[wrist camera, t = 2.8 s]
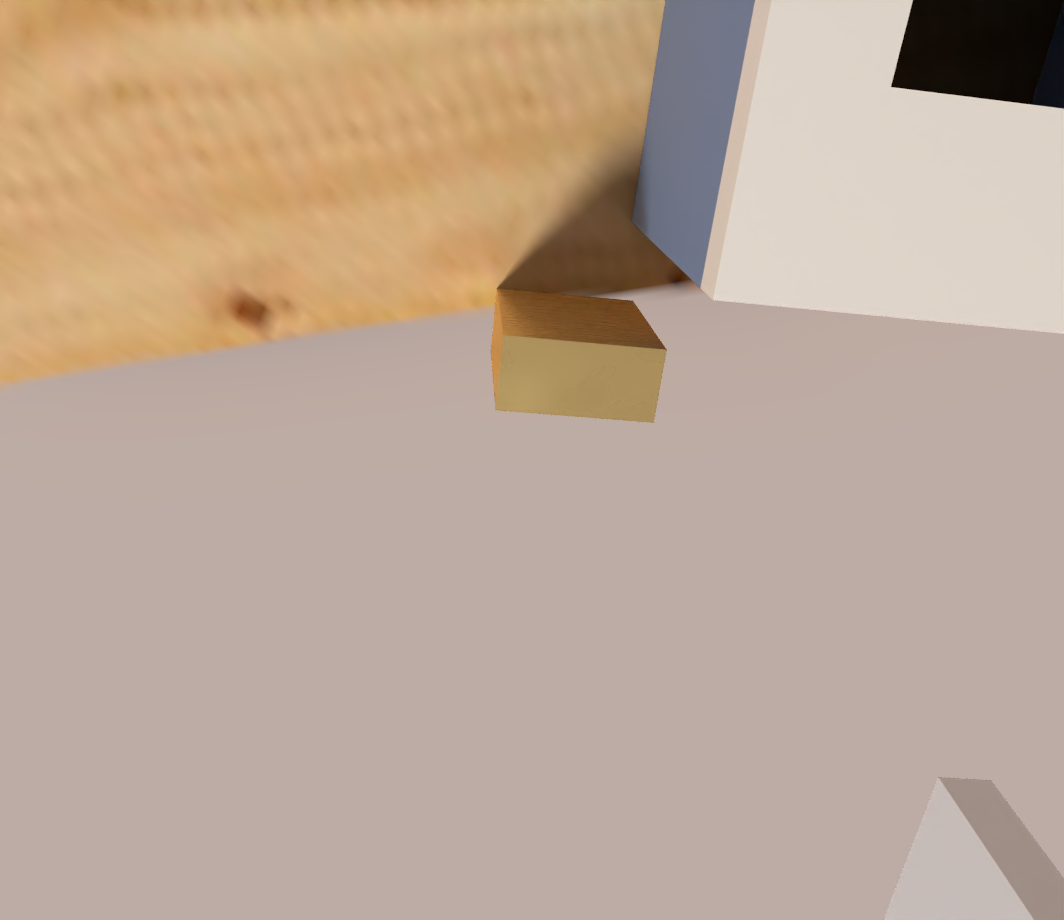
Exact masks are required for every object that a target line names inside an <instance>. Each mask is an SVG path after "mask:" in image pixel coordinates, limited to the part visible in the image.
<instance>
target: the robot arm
mask: <svg viewBox="0 0 1064 920" xmlns="http://www.w3.org/2000/svg"><path fill="white" fill-rule="evenodd" d="M884 920H1064V878H1063V876H1062V875H1061V874H1060V872H1059V871H1058V870H1057V868H1056V867H1055V866H1054V864H1053V863H1052V862H1051V860H1050V859H1049V858H1048V856H1047V855H1046V854H1045V852H1044V851H1043V850H1042V848H1041V847H1040V846H1039V844H1038V843H1037V841H1035V839H1034V838H1033V836H1032V835H1031V834H1030V832H1029V831H1028V829H1027V828H1026V827H1025V825H1024V824H1023V823H1022V821H1021V820H1020V819H1019V817H1018V816H1017V815H1016V813H1015V812H1014V811H1013V809H1012V808H1011V807H1010V805H1009V804H1008V802H1007V801H1006V800H1005V798H1004V797H1003V796H1002V794H1001V793H1000V792H999V790H998V789H997V788H996V787H995V785H994V784H993V782H992V781H991V780H975V779H959V778H942V777H939V778H938V780H937V782H936V785H935V788H934V790H933V793H932V795H931V798H930V801H929V803H928V806H927V808H926V811H925V814H924V816H923V819H922V821H921V824H920V827H919V829H918V832H917V835H916V837H915V840H914V842H913V845H912V847H911V850H910V853H909V855H908V858H907V860H906V863H905V866H904V869H903V871H902V873H901V876H900V879H899V881H898V884H897V886H896V889H895V892H894V894H893V897H892V899H891V902H890V905H889V907H888V910H887V912H886V915H885V918H884Z"/></svg>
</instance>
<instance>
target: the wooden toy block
mask: <svg viewBox="0 0 1064 920" xmlns="http://www.w3.org/2000/svg"><path fill="white" fill-rule="evenodd" d="M666 351H667V350H666V348H665V347H664V345H663V344H662V342H661V341H660V339H659V338H658V337H657V335H656V334H655V333H654V331H653V329H652V328H651V326H650V325H649V324H648V322H647V321H646V319H645V318H644V316H643V315H642V313H641V312H640V311H639V309H638V308H637V306H636V305H635V303H634V302H633V301H629V300H618V299H607V298H596V297H585V296H575V295H564V294H554V293H543V292H533V291H522V290H511V289H501V288H497V292H496V303H495V313H494V324H493V334H492V345H491V360H492V371H493V384H494V396H495V407H496V410H501V411H514V412H526V413H538V414H551V415H564V416H576V417H588V418H601V419H614V420H626V421H639V422H651V423H653V422H654V417H655V412H656V406H657V401H658V395H659V390H660V384H661V378H662V373H663V366H664V362H665V356H666Z"/></svg>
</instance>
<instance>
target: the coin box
mask: <svg viewBox="0 0 1064 920" xmlns="http://www.w3.org/2000/svg"><path fill="white" fill-rule="evenodd" d="M912 2H913V0H666V1H665V8H664V14H663V21H662V27H661V34H660V40H659V47H658V53H657V60H656V66H655V73H654V79H653V86H652V92H651V99H650V105H649V112H648V118H647V125H646V131H645V138H644V145H643V151H642V158H641V164H640V171H639V177H638V184H637V190H636V197H635V203H634V210H633V216H632V223H633V224H634V225H635V226H636V227H637V228H638V229H639V230H640V231H641V232H643V233H644V234H645V235H646V236H647V237H648V238H649V239H650V240H651V241H652V242H653V243H654V244H655V245H656V246H657V247H658V248H659V249H660V250H661V251H662V252H663V253H664V254H665V255H666V256H667V257H668V258H670V259H671V260H672V261H673V262H674V263H675V264H676V265H677V266H678V267H679V268H680V269H681V270H682V271H683V272H684V273H685V274H686V275H687V276H688V277H689V278H690V279H691V280H692V281H693V282H694V283H696V284H697V285H698V286H699V287H700V288H701V289H702V290H703V291H704V292H705V293H706V294H707V295H708V296H709V297H710V298H711V299H712V300H719V301H728V302H739V303H749V304H760V305H770V306H780V307H791V308H801V309H812V310H822V311H833V312H844V313H854V314H865V315H875V316H885V317H896V318H906V319H917V320H928V321H938V322H949V323H959V324H970V325H980V326H991V327H1001V328H1011V329H1022V330H1032V331H1042V332H1053V333H1064V2H1063V5H1062V8H1061V12H1060V15H1059V18H1058V21H1057V24H1056V27H1055V31H1054V34H1053V37H1052V40H1051V43H1050V46H1049V49H1048V53H1047V56H1046V59H1045V62H1044V65H1043V68H1042V72H1041V75H1040V78H1039V81H1038V84H1037V87H1036V91H1035V94H1034V97H1033V100H1032V103H1031V104H1023V103H1015V102H1007V101H999V100H991V99H983V98H975V97H967V96H959V95H951V94H943V93H935V92H927V91H919V90H911V89H903V88H895V87H891V84H892V81H893V77H894V73H895V69H896V65H897V61H898V57H899V53H900V49H901V45H902V41H903V37H904V33H905V29H906V26H907V22H908V18H909V14H910V10H911V6H912Z"/></svg>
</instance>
